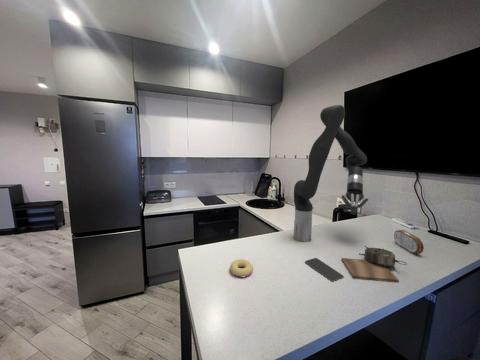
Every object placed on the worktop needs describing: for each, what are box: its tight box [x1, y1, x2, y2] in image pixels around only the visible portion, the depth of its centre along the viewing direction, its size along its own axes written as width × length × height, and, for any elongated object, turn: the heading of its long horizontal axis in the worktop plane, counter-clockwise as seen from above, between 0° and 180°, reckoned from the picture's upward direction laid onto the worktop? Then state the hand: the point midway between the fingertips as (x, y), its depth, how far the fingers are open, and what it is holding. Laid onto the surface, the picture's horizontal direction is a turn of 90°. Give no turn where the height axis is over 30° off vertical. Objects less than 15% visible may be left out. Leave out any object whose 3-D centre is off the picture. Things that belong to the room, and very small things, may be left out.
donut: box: [229, 258, 254, 277], centre depth 81 cm, size 10×5×9 cm
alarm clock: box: [358, 245, 408, 267], centre depth 84 cm, size 11×5×16 cm
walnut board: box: [340, 257, 400, 283], centre depth 81 cm, size 16×13×1 cm
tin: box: [393, 229, 425, 254], centre depth 98 cm, size 15×3×8 cm, turn 179°
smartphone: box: [304, 257, 345, 283], centre depth 82 cm, size 7×1×15 cm
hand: (353, 214), depth 100 cm, fingers closed
